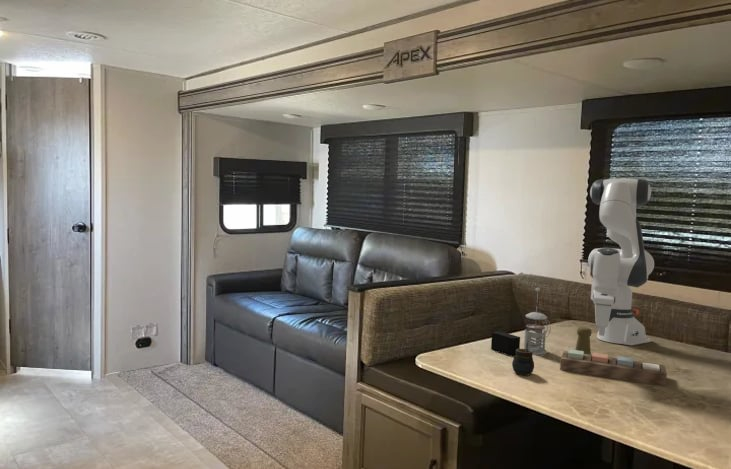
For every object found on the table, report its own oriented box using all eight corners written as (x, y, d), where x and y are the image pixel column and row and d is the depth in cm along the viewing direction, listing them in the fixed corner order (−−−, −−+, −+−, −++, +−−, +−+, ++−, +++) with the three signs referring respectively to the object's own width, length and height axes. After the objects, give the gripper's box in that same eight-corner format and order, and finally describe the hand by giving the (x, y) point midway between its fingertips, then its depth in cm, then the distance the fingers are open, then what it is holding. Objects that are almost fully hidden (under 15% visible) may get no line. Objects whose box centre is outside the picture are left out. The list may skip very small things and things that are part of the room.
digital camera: (521, 354, 220) (522, 336, 219) (512, 356, 216) (513, 338, 216) (500, 347, 228) (501, 330, 227) (491, 349, 225) (491, 332, 224)
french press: (515, 348, 227) (519, 285, 225) (539, 346, 232) (543, 284, 230) (532, 355, 218) (536, 290, 216) (556, 353, 223) (560, 289, 221)
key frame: (560, 369, 202) (560, 358, 202) (563, 361, 212) (563, 350, 212) (665, 386, 188) (666, 374, 188) (663, 376, 198) (664, 365, 198)
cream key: (642, 373, 194) (643, 366, 194) (642, 369, 198) (642, 362, 198) (659, 376, 192) (659, 368, 192) (658, 372, 196) (658, 364, 196)
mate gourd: (510, 374, 194) (512, 345, 194) (512, 368, 201) (514, 340, 201) (532, 378, 192) (534, 348, 191) (534, 371, 199) (536, 343, 198)
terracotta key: (591, 363, 200) (592, 356, 200) (592, 359, 205) (593, 352, 205) (607, 365, 198) (607, 358, 198) (607, 361, 203) (608, 354, 203)
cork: (592, 358, 217) (594, 330, 216) (575, 357, 218) (577, 328, 217) (589, 354, 223) (591, 326, 222) (573, 352, 224) (575, 324, 223)
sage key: (567, 359, 204) (567, 352, 203) (568, 355, 208) (569, 349, 208) (582, 361, 202) (583, 354, 201) (583, 358, 206) (583, 351, 206)
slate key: (616, 366, 197) (617, 359, 197) (617, 362, 202) (617, 355, 201) (632, 369, 195) (633, 361, 195) (632, 365, 200) (633, 358, 199)
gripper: (596, 290, 210) (593, 327, 211) (593, 298, 192) (590, 339, 193) (615, 292, 208) (612, 329, 209) (613, 301, 189) (610, 342, 190)
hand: (601, 334), depth 201 cm, fingers closed
